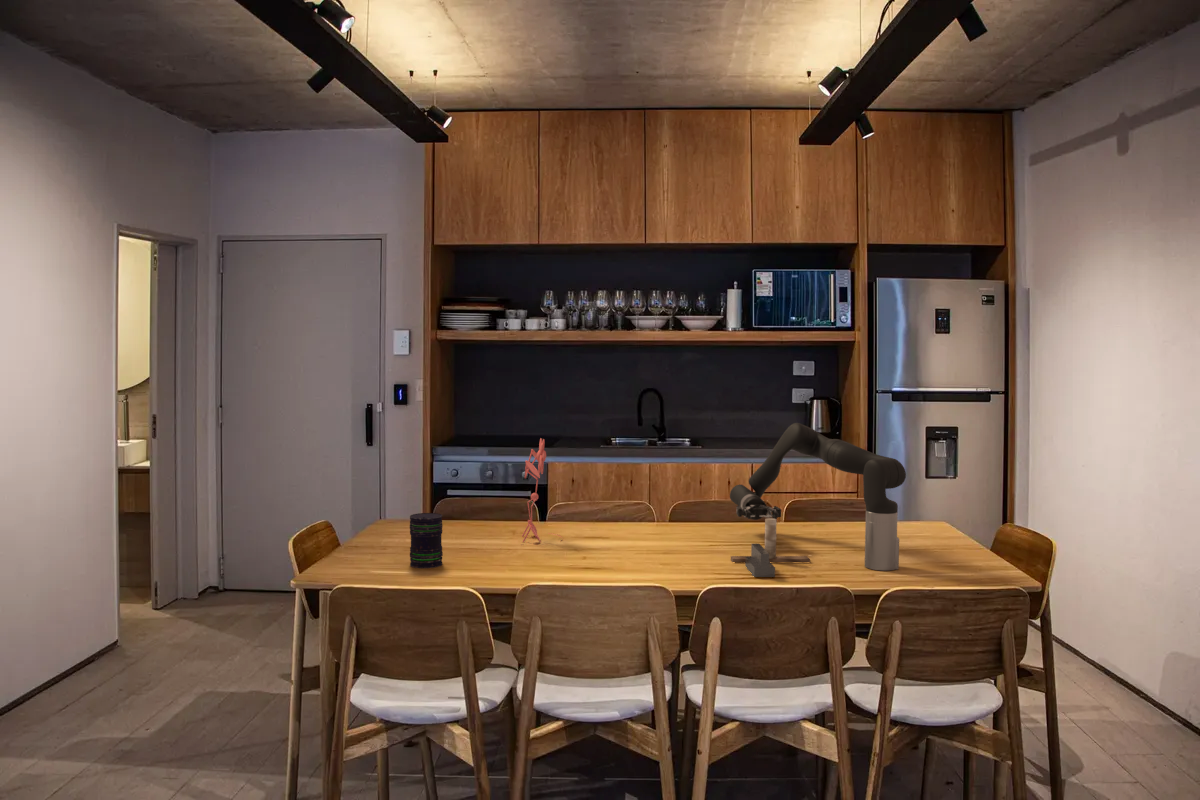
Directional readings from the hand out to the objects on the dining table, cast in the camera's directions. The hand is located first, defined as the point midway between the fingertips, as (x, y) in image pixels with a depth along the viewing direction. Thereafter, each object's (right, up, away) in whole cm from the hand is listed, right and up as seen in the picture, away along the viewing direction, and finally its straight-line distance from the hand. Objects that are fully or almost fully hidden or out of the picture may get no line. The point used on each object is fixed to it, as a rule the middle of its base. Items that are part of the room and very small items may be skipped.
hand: (762, 515), depth 298 cm
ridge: (-5, -14, -25) cm, 29 cm away
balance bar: (0, -13, -11) cm, 17 cm away
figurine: (-73, -11, +20) cm, 76 cm away
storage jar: (-106, -13, -18) cm, 108 cm away
